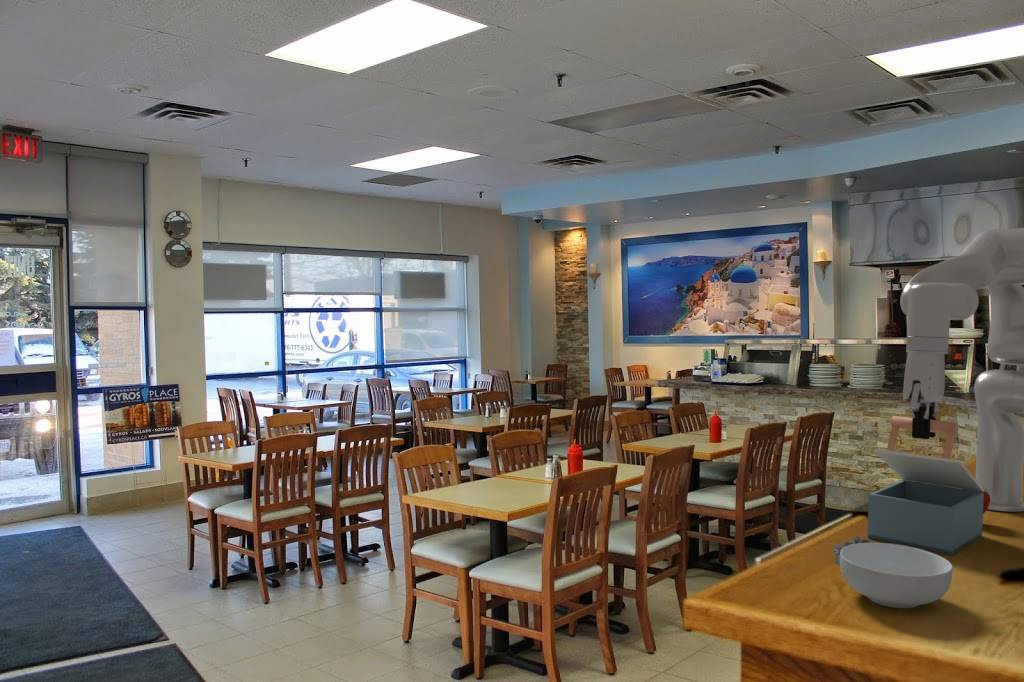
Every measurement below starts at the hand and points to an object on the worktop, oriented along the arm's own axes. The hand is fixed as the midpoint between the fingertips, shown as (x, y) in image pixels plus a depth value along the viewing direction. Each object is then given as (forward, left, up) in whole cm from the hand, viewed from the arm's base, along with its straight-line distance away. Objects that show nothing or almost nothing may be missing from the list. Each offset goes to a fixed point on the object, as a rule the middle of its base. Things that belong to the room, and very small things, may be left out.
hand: (923, 436), depth 172 cm
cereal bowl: (+37, +9, -21) cm, 44 cm away
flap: (-4, 0, -8) cm, 8 cm away
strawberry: (-20, +4, -21) cm, 30 cm away
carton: (-3, 0, -21) cm, 21 cm away
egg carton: (+22, -2, -21) cm, 31 cm away
